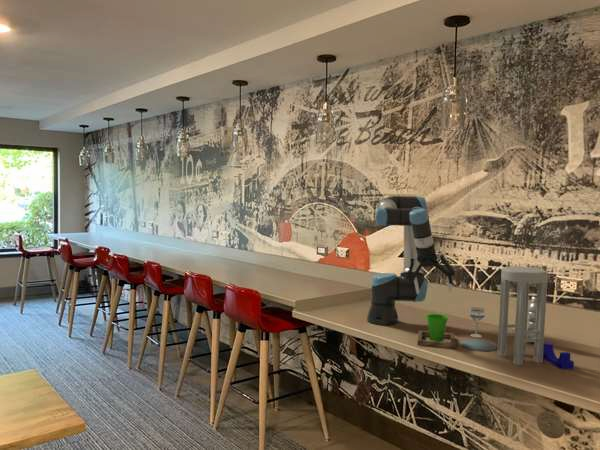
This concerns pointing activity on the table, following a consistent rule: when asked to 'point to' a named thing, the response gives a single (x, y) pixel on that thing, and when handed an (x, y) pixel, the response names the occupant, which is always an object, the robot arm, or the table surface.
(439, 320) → the cup
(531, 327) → the plastic bottle
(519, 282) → the stool
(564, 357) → the cable clip
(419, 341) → the cup holder
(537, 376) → the table surface
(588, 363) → the table surface
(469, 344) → the mat
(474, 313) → the wineglass
